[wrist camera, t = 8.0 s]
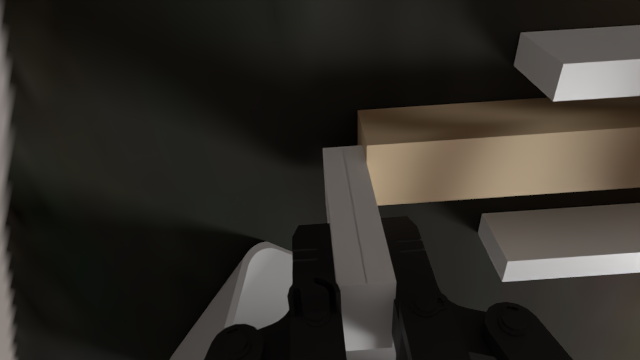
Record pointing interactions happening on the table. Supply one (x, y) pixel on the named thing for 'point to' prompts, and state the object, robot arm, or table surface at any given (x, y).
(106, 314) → the table surface
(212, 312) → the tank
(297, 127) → the table surface
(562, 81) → the white blocky frame
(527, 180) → the rod
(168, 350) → the table surface
